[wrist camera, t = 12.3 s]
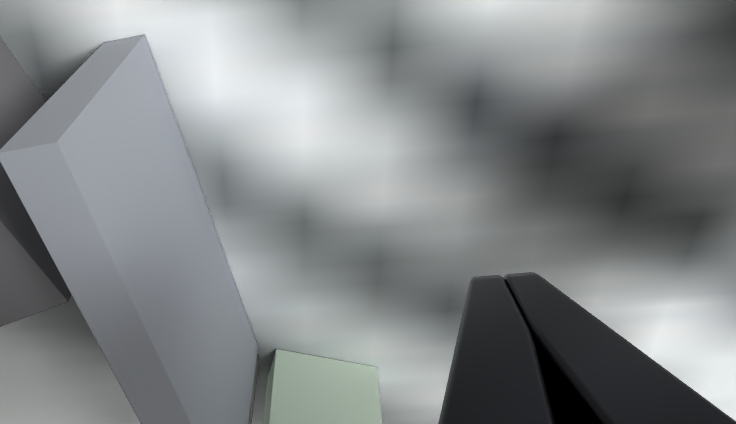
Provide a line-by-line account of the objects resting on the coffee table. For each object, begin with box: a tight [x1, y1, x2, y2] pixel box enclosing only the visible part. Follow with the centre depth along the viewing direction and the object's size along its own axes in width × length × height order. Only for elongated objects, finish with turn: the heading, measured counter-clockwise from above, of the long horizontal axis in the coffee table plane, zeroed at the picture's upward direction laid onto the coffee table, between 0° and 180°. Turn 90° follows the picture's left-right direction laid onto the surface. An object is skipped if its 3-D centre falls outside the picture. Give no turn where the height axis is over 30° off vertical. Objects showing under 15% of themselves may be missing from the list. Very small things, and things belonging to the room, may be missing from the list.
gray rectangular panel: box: [0, 35, 259, 424], centre depth 19 cm, size 13×1×8 cm, turn 10°
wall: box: [263, 349, 382, 424], centre depth 21 cm, size 22×2×6 cm, turn 73°
